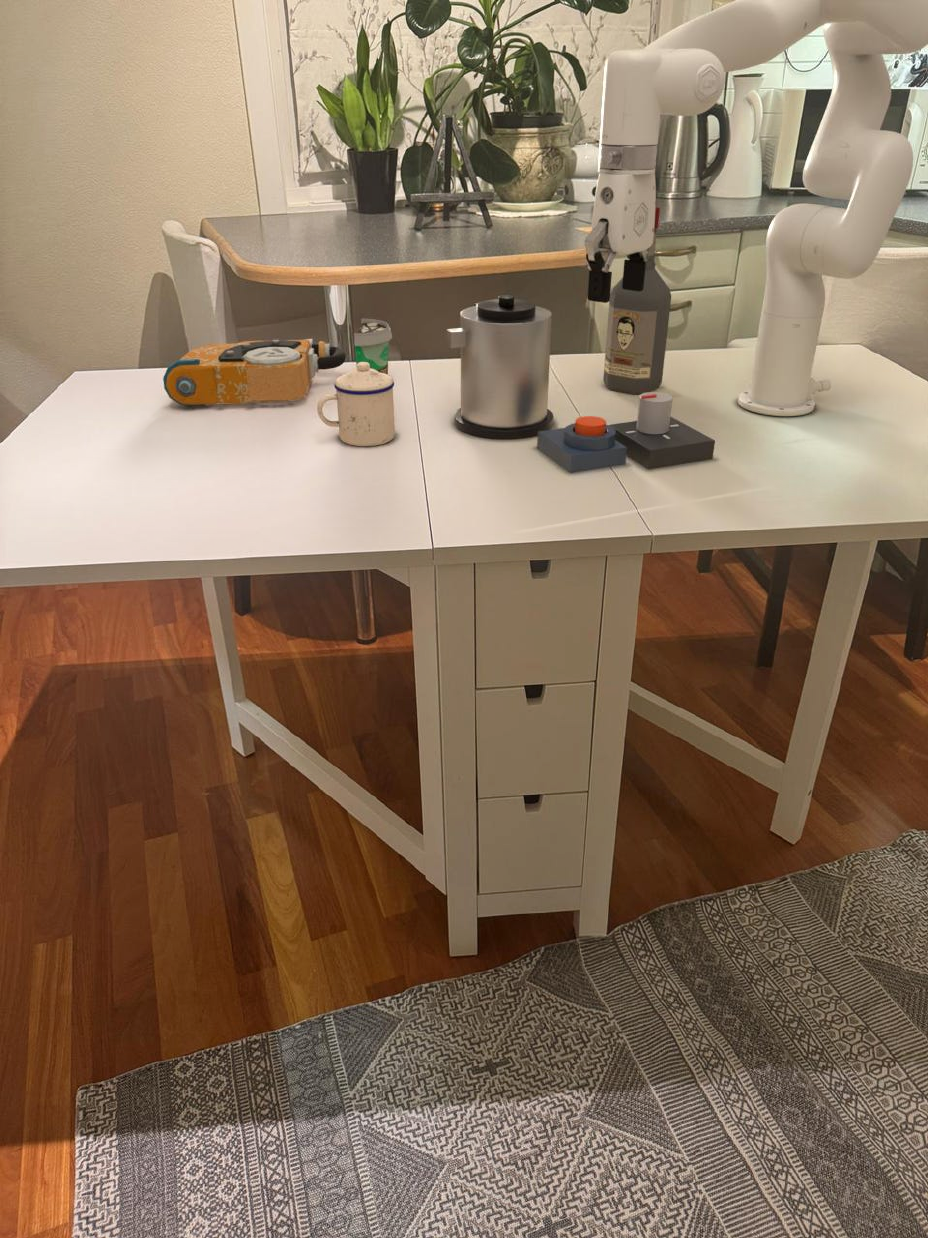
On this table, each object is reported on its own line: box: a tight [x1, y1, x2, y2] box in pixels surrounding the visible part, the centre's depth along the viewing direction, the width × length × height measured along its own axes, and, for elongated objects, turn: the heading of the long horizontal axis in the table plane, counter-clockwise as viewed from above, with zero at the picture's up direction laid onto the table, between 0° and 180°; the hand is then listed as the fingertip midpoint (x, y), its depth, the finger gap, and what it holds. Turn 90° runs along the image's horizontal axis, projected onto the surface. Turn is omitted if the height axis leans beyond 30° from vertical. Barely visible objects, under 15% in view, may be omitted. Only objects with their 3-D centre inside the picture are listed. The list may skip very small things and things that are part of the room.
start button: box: [574, 415, 607, 436], centre depth 132 cm, size 4×4×2 cm
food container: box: [353, 318, 393, 375], centre depth 167 cm, size 12×6×10 cm, turn 179°
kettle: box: [446, 294, 554, 441], centre depth 145 cm, size 17×20×20 cm
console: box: [608, 416, 716, 470], centre depth 137 cm, size 11×12×3 cm
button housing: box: [536, 422, 627, 474], centre depth 135 cm, size 9×11×4 cm
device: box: [162, 338, 347, 408], centre depth 162 cm, size 23×8×30 cm
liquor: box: [603, 205, 672, 395], centre depth 158 cm, size 9×9×30 cm
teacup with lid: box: [316, 362, 396, 447], centre depth 140 cm, size 12×9×12 cm
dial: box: [636, 391, 673, 435], centre depth 136 cm, size 5×5×5 cm
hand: (615, 295), depth 129 cm, fingers open, 9 cm apart
